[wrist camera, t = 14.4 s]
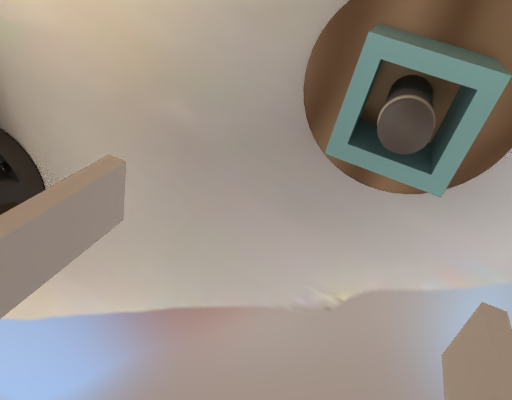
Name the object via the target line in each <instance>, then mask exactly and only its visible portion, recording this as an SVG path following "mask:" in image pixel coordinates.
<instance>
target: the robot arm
mask: <svg viewBox="0 0 512 400" xmlns="http://www.w3.org/2000/svg"><path fill="white" fill-rule="evenodd" d="M125 173H126V161H123V160H121V159H118V158H116V157H113V156H110V155H107V156H106V157H104V158H102V159H100V160H98V161H97V162H95V163H93V164H91V165H89V166H88V167H86V168H84V169H82V170H80V171H79V172H77V173H75V174H73V175H71V176H70V177H68V178H66V179H64V180H62V181H61V182H59V183H57V184H55V185H53V186H52V187H50V188H48V189H46V190H44V187H43V183H42V181H41V178H40V176H39V174H38V171H37V170H36V168H35V166H34V164H33V163H32V161H31V160H30V158H29V157H28V155H27V154H26V153H25V151H24V150H23V149H22V148H21V147H20V146H19V145H18V144H17V143H16V142H15V141H14V140H13V139H12V138H11V137H10V136H9V135H7V134H6V133H5V132H3V131H2V130H0V319H1V318H2V317H3V316H5V315H6V314H7V313H8V312H9V311H11V310H12V309H13V308H14V307H16V306H17V305H18V304H19V303H21V302H22V301H23V300H24V299H26V298H27V297H28V296H29V295H31V294H32V293H33V292H34V291H36V290H37V289H38V288H39V287H41V286H42V285H43V284H44V283H45V282H47V281H48V280H49V279H50V278H52V277H53V276H54V275H55V274H57V273H58V272H59V271H60V270H62V269H63V268H64V267H65V266H67V265H68V264H69V263H70V262H72V261H73V260H74V259H75V258H77V257H78V256H79V255H80V254H81V253H83V252H84V251H85V250H86V249H88V248H89V247H90V246H91V245H93V244H94V243H95V242H96V241H98V240H99V239H100V238H101V237H103V236H104V235H105V234H106V233H108V232H109V231H110V230H111V229H112V228H114V227H115V226H116V225H117V224H119V223H120V222H121V221H122V220H123V213H124V193H125ZM442 367H443V381H444V396H445V400H512V329H511V326H510V322H509V318H508V314H507V312H506V311H504V310H501V309H498V308H496V307H493V306H491V305H488V304H486V303H483V302H482V303H481V304H480V306H479V307H478V308H477V309H476V311H475V312H474V313H473V315H472V316H471V317H470V319H469V320H468V321H467V322H466V324H465V325H464V326H463V328H462V329H461V330H460V332H459V333H458V334H457V336H456V337H455V338H454V340H453V341H452V342H451V344H450V345H449V346H448V348H447V349H446V350H445V352H444V353H443V354H442Z"/></svg>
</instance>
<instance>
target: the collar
mask: <svg viewBox="0 0 512 400" xmlns="http://www.w3.org/2000/svg"><path fill="white" fill-rule="evenodd" d="M383 60H385V61H388V62H392V63H395V64H398V65H401V66H404V67H407V68H410V69H413V70H417V71H420V72H423V73H426V74H429V75H432V76H435V77H438V78H441V79H445V80H448V81H451V82H454V83H457V84H460V85H461V86H460V88H459V90H458V92H457V94H456V96H455V98H454V100H453V102H452V104H451V106H450V107H449V109H448V111H447V113H446V115H445V117H444V119H443V121H442V123H441V125H440V127H439V129H438V131H437V132H436V134H435V136H434V138H433V140H432V142H431V144H430V143H428V144H427V145H426V146H425V147H424V148H422V149H421V150H419V151H417V152H415V153H411V154H397V153H394V152H391V151H389V150H388V149H386V148H385V147H384V146H383V145H382V143H381V142H380V140H379V138H378V134H377V125H376V124H374V123H371V122H368V121H365V120H362V119H360V118H361V115H362V112H363V110H364V107H365V105H366V102H367V100H368V97H369V95H370V92H371V90H372V87H373V85H374V82H375V80H376V77H377V75H378V72H379V70H380V67H381V65H382V62H383ZM511 77H512V75H511V74H510V73H509V72H508V71H507V70H506V69H505V68H504V67H503V66H502V65H501V63H500V62H499V61H498V60H497V59H496V58H492V57H489V56H486V55H483V54H479V53H476V52H473V51H469V50H466V49H463V48H459V47H456V46H453V45H450V44H446V43H443V42H440V41H436V40H433V39H430V38H427V37H423V36H420V35H417V34H413V33H410V32H407V31H404V30H400V29H397V28H394V27H390V26H387V25H384V24H380V23H379V24H378V25H376V26H375V27H374V28H373V29H371V30H370V31H369V33H368V35H367V38H366V41H365V44H364V46H363V49H362V52H361V55H360V57H359V60H358V63H357V66H356V68H355V71H354V74H353V77H352V79H351V82H350V85H349V88H348V90H347V93H346V96H345V99H344V101H343V104H342V107H341V110H340V112H339V115H338V118H337V121H336V123H335V126H334V129H333V132H332V134H331V137H330V140H329V143H328V145H327V148H326V151H325V154H327V155H330V156H333V157H335V158H338V159H341V160H343V161H346V162H348V163H351V164H354V165H356V166H359V167H362V168H364V169H367V170H370V171H372V172H375V173H378V174H380V175H383V176H386V177H388V178H391V179H394V180H396V181H399V182H402V183H404V184H407V185H410V186H412V187H415V188H417V189H420V190H423V191H425V192H428V193H431V194H433V195H436V196H439V197H442V195H443V193H444V192H445V190H446V188H447V186H448V185H449V183H450V181H451V180H452V178H453V176H454V174H455V173H456V171H457V169H458V168H459V166H460V164H461V162H462V161H463V159H464V157H465V156H466V154H467V152H468V150H469V149H470V147H471V145H472V144H473V142H474V140H475V138H476V137H477V135H478V133H479V132H480V130H481V128H482V126H483V125H484V123H485V121H486V120H487V118H488V116H489V114H490V113H491V111H492V109H493V108H494V106H495V104H496V102H497V101H498V99H499V97H500V95H501V94H502V92H503V90H504V89H505V87H506V85H507V83H508V82H509V80H510V78H511Z"/></svg>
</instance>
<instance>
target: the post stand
mask: <svg viewBox="0 0 512 400" xmlns="http://www.w3.org/2000/svg"><path fill="white" fill-rule="evenodd" d="M379 23H380V24H384V25H387V26H390V27H394V28H397V29H400V30H404V31H407V32H410V33H413V34H417V35H420V36H423V37H427V38H430V39H433V40H436V41H440V42H443V43H446V44H450V45H453V46H456V47H459V48H463V49H466V50H469V51H473V52H476V53H479V54H483V55H486V56H489V57H492V58H496V59H497V60H498V61H499V62H500V63H501V65H502V66H503V67H504V68H505V69H506V70H507V71H508V72H509V73H510V74H511V75H512V0H350V1H349V2H348V3H347V4H345V5H344V6H343V7H342V8H341V9H340V10H339V11H338V12H337V13H336V14H335V15H334V17H333V18H332V19H331V20H330V21H329V22H328V24H327V25H326V27H325V28H324V30H323V31H322V33H321V34H320V36H319V38H318V40H317V42H316V44H315V46H314V48H313V50H312V53H311V56H310V58H309V61H308V65H307V70H306V74H305V82H304V105H305V111H306V116H307V120H308V123H309V127H310V129H311V131H312V134H313V136H314V138H315V140H316V142H317V143H318V145H319V147H320V148H321V150H322V151H323V152H324V154H325V151H326V148H327V145H328V143H329V140H330V137H331V134H332V132H333V129H334V126H335V123H336V121H337V118H338V115H339V112H340V110H341V107H342V104H343V101H344V99H345V96H346V93H347V90H348V88H349V85H350V82H351V79H352V77H353V74H354V71H355V68H356V66H357V63H358V60H359V57H360V55H361V52H362V49H363V46H364V44H365V41H366V38H367V35H368V33H369V31H370V30H371V29H373V28H374V27H375V26H376V25H378V24H379ZM460 86H461V85H460V84H457V83H454V82H451V81H448V80H445V79H441V78H438V77H435V76H432V75H429V74H426V73H423V72H420V71H417V70H413V69H410V68H407V67H404V66H401V65H398V64H395V63H392V62H388V61H385V60H383V62H382V65H381V67H380V70H379V72H378V75H377V77H376V80H375V82H374V85H373V87H372V90H371V92H370V95H369V97H368V100H367V102H366V105H365V107H364V110H363V112H362V115H361V118H360V119H362V120H365V121H368V122H371V123H374V124H376V125H377V134H378V138H379V140H380V142H381V143H382V145H383V146H384V147H385V148H386V149H388V150H389V151H391V152H394V153H397V154H411V153H415V152H417V151H419V150H421V149H422V148H424V147H425V146H426V145H427V144H428V143H430V144H431V142H432V140H433V138H434V136H435V134H436V132H437V131H438V129H439V127H440V125H441V123H442V121H443V119H444V117H445V115H446V113H447V111H448V109H449V107H450V106H451V104H452V102H453V100H454V98H455V96H456V94H457V92H458V90H459V88H460ZM511 148H512V77H511V78H510V80H509V82H508V83H507V85H506V87H505V89H504V90H503V92H502V94H501V95H500V97H499V99H498V101H497V102H496V104H495V106H494V108H493V109H492V111H491V113H490V114H489V116H488V118H487V120H486V121H485V123H484V125H483V126H482V128H481V130H480V132H479V133H478V135H477V137H476V138H475V140H474V142H473V144H472V145H471V147H470V149H469V150H468V152H467V154H466V156H465V157H464V159H463V161H462V162H461V164H460V166H459V168H458V169H457V171H456V173H455V174H454V176H453V178H452V180H451V181H450V183H449V185H448V186H447V188H446V189H448V188H451V187H454V186H457V185H459V184H462V183H465V182H467V181H468V180H470V179H472V178H474V177H476V176H478V175H480V174H481V173H483V172H484V171H486V170H487V169H489V168H490V167H492V166H493V165H494V164H495V163H496V162H498V161H499V160H500V159H501V158H502V157H503V156H504V155H505V154H506V153H507V152H508V151H509V150H510V149H511ZM325 155H326V156H327V158H328V159H329V160H330V161H331V162H332V163H333V164H334V165H335V166H336V167H337V168H339V169H340V170H341V171H342V172H344V173H345V174H346V175H348V176H350V177H351V178H353V179H355V180H356V181H358V182H360V183H362V184H365V185H367V186H369V187H372V188H375V189H379V190H382V191H387V192H392V193H402V194H422V193H428V192H425V191H423V190H420V189H417V188H415V187H412V186H410V185H407V184H404V183H402V182H399V181H396V180H394V179H391V178H388V177H386V176H383V175H380V174H378V173H375V172H372V171H370V170H367V169H364V168H362V167H359V166H356V165H354V164H351V163H348V162H346V161H343V160H341V159H338V158H335V157H333V156H330V155H327V154H325Z"/></svg>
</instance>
